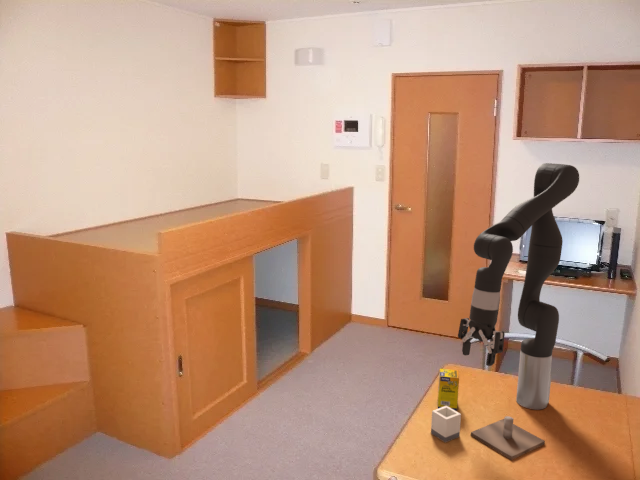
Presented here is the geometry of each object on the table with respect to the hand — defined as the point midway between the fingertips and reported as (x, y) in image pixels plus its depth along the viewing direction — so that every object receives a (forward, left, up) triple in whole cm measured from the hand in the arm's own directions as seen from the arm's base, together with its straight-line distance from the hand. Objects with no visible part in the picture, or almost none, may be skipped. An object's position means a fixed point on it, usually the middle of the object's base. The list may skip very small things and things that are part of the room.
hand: (477, 359), depth 159 cm
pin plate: (-3, +10, -21) cm, 23 cm away
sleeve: (+10, -1, -21) cm, 23 cm away
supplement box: (-3, -13, -21) cm, 25 cm away
